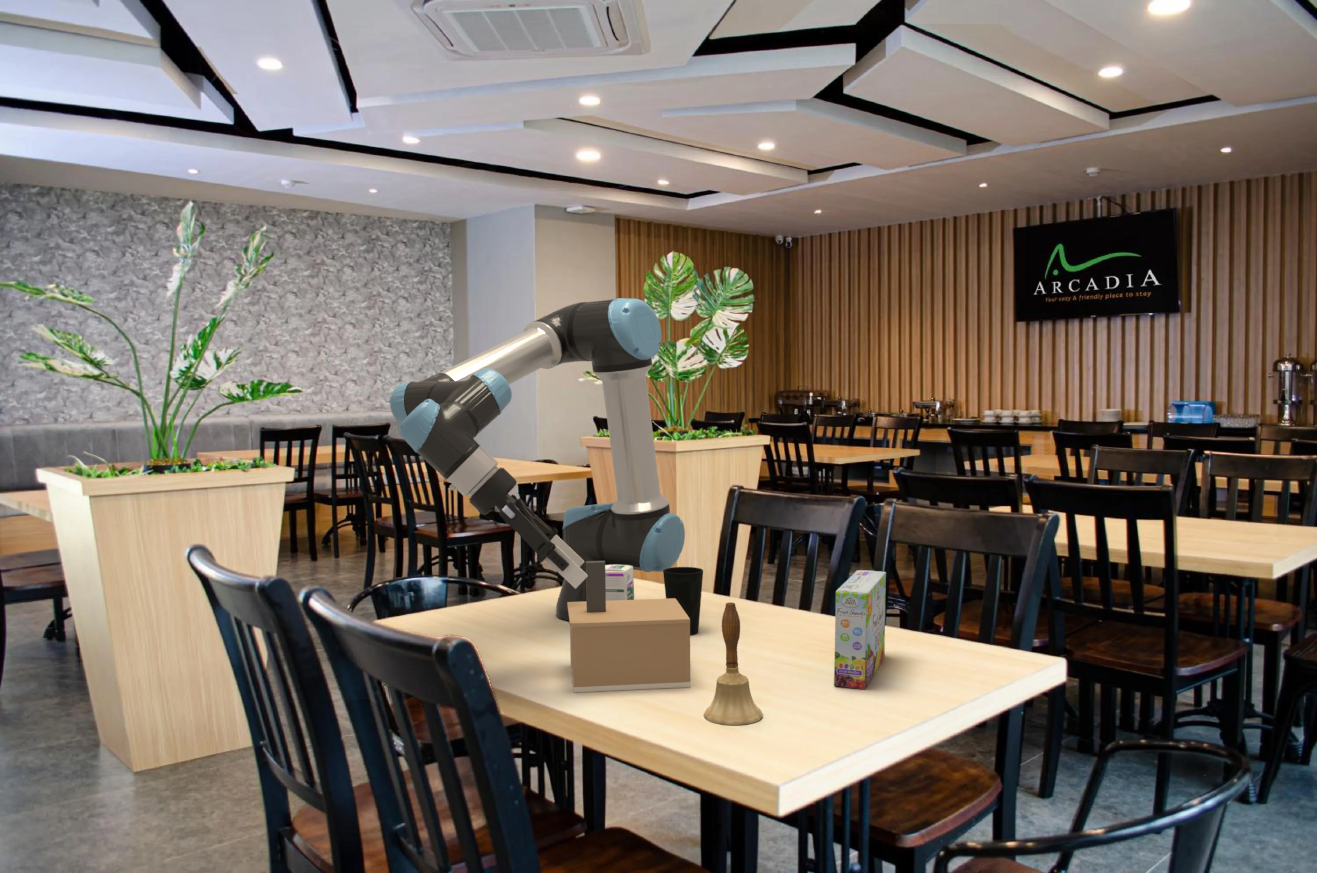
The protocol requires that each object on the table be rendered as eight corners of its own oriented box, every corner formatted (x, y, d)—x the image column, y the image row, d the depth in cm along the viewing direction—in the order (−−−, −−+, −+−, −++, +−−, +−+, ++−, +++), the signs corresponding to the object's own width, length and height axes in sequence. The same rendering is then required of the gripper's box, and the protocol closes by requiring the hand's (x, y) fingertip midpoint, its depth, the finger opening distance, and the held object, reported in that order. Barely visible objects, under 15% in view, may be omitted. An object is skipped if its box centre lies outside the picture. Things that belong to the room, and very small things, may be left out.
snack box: (869, 691, 149) (869, 592, 149) (832, 687, 151) (832, 590, 151) (887, 656, 169) (887, 569, 169) (854, 654, 171) (854, 568, 171)
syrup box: (628, 650, 175) (627, 569, 175) (596, 649, 176) (595, 568, 176) (635, 643, 181) (634, 564, 180) (604, 641, 182) (603, 563, 181)
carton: (573, 692, 150) (572, 627, 150) (570, 664, 166) (569, 606, 165) (690, 687, 152) (689, 622, 152) (676, 660, 168) (675, 602, 168)
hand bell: (705, 726, 134) (704, 609, 133) (702, 707, 142) (701, 597, 142) (766, 725, 134) (765, 609, 133) (759, 706, 142) (758, 597, 142)
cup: (697, 638, 184) (696, 574, 183) (658, 635, 186) (657, 572, 186) (708, 629, 191) (707, 567, 191) (671, 626, 193) (670, 566, 193)
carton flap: (570, 627, 149) (569, 571, 149) (567, 605, 166) (566, 554, 165) (690, 622, 152) (689, 567, 151) (675, 601, 168) (674, 551, 168)
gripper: (472, 492, 167) (562, 577, 169) (459, 507, 142) (565, 607, 144) (503, 460, 167) (592, 546, 169) (496, 470, 142) (600, 570, 145)
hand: (580, 574), depth 157 cm, fingers open, 13 cm apart
